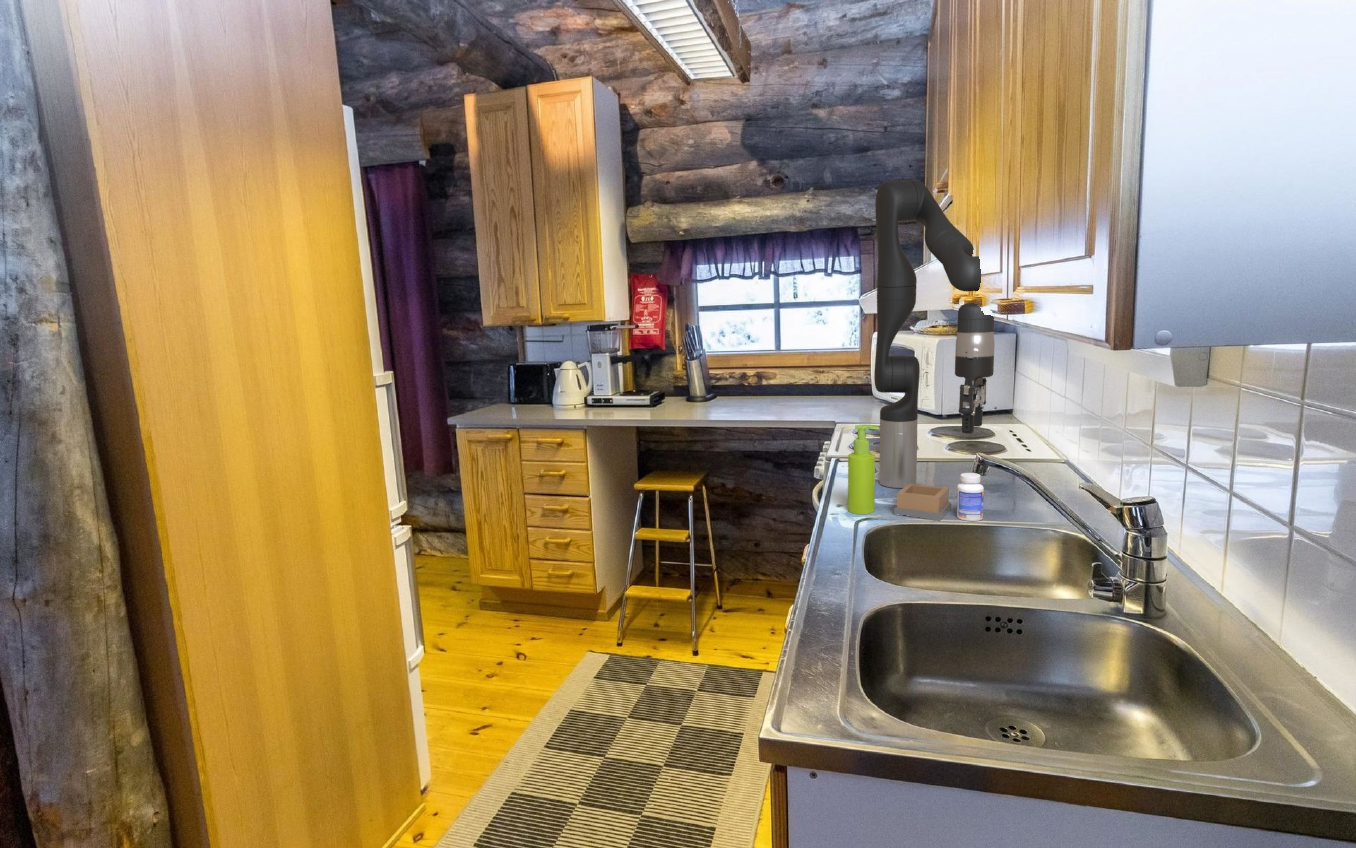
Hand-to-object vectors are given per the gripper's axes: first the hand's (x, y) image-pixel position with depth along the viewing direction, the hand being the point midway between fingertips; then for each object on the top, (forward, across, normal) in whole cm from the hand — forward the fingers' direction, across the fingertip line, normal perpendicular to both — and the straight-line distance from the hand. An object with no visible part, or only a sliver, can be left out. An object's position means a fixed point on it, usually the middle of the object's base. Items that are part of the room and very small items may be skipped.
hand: (972, 429), depth 149 cm
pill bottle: (+20, 0, 0) cm, 20 cm away
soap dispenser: (+20, +5, -22) cm, 30 cm away
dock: (+20, 0, -10) cm, 22 cm away
